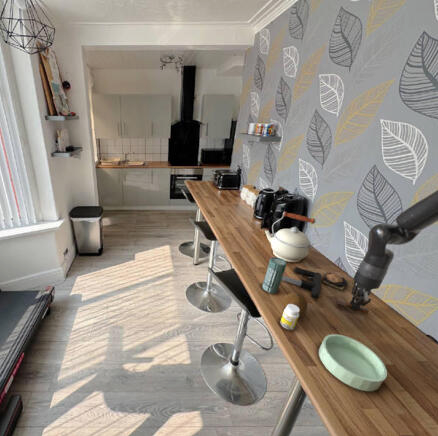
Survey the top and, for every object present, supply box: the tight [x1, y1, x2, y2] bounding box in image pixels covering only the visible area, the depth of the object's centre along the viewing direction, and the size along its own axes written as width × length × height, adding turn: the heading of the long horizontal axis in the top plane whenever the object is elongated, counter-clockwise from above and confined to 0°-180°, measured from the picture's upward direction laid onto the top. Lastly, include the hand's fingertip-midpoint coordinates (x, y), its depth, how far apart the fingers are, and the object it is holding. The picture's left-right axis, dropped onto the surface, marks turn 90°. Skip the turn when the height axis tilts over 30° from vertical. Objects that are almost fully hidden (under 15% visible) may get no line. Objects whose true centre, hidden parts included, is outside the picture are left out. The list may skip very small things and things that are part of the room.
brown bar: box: [335, 299, 370, 315], centre depth 95 cm, size 10×3×2 cm, turn 61°
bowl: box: [318, 333, 388, 392], centre depth 73 cm, size 15×15×4 cm
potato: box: [283, 291, 308, 319], centre depth 93 cm, size 8×12×8 cm, turn 155°
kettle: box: [264, 211, 319, 263], centre depth 129 cm, size 25×18×25 cm
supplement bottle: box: [279, 304, 300, 330], centre depth 86 cm, size 5×5×8 cm
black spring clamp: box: [281, 266, 324, 300], centre depth 111 cm, size 3×20×16 cm
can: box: [261, 256, 288, 295], centre depth 103 cm, size 6×6×15 cm
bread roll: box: [322, 272, 348, 291], centre depth 112 cm, size 11×8×4 cm
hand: (353, 307), depth 95 cm, fingers closed on brown bar, 1 cm apart
